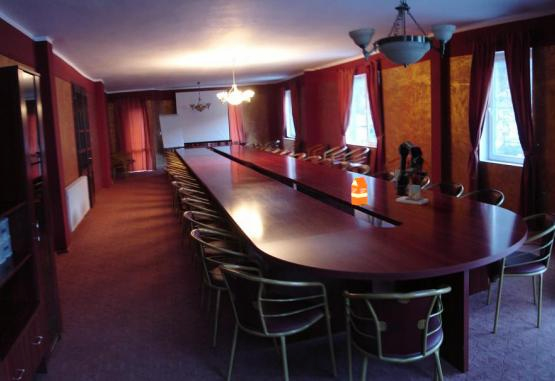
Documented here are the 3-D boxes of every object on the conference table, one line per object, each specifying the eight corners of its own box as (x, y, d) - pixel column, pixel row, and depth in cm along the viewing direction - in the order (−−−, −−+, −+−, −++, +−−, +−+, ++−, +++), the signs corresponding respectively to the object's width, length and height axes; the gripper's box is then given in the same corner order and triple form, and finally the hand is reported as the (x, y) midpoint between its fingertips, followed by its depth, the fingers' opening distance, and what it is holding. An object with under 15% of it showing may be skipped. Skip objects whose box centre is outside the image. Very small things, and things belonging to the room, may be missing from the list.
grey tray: (395, 201, 360) (395, 197, 359) (403, 198, 368) (403, 195, 368) (420, 204, 346) (420, 200, 346) (428, 201, 355) (428, 197, 354)
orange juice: (351, 204, 358) (351, 177, 354) (360, 202, 362) (360, 176, 358) (358, 205, 351) (357, 178, 347) (367, 204, 355) (367, 177, 351)
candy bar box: (408, 188, 409) (409, 169, 406) (407, 189, 405) (407, 170, 402) (395, 188, 415) (395, 169, 412) (394, 189, 410) (394, 170, 407)
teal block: (408, 192, 355) (408, 186, 354) (412, 191, 359) (412, 184, 358) (416, 193, 351) (416, 186, 350) (420, 192, 355) (420, 185, 354)
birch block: (408, 199, 356) (408, 192, 355) (412, 198, 360) (412, 191, 359) (416, 200, 352) (416, 193, 351) (420, 198, 356) (420, 192, 355)
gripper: (397, 164, 351) (397, 185, 354) (421, 165, 339) (421, 187, 342) (405, 162, 359) (405, 183, 362) (428, 163, 347) (428, 185, 350)
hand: (414, 184), depth 354 cm, fingers open, 9 cm apart
